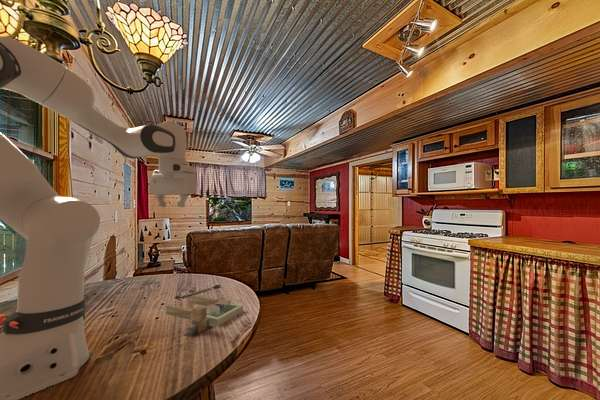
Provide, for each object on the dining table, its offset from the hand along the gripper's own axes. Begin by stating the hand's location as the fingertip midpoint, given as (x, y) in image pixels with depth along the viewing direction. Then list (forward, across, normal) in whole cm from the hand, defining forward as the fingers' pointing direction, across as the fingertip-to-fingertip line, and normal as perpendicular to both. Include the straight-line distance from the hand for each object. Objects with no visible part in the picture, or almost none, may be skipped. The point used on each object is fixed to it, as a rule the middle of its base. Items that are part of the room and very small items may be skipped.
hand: (171, 207), depth 91 cm
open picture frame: (+37, +17, +5) cm, 41 cm away
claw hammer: (+38, -6, +21) cm, 44 cm away
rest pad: (+37, +20, -6) cm, 43 cm away
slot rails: (+37, +6, +5) cm, 38 cm away
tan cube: (+37, +17, +2) cm, 41 cm away
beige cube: (+37, +17, +8) cm, 42 cm away
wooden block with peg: (+37, +20, -6) cm, 42 cm away
